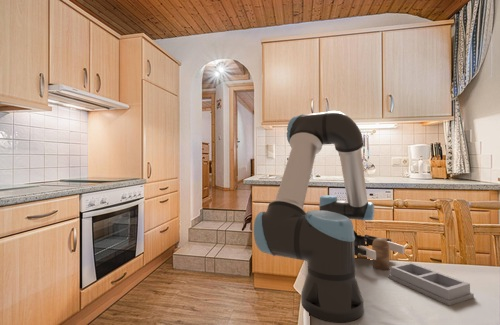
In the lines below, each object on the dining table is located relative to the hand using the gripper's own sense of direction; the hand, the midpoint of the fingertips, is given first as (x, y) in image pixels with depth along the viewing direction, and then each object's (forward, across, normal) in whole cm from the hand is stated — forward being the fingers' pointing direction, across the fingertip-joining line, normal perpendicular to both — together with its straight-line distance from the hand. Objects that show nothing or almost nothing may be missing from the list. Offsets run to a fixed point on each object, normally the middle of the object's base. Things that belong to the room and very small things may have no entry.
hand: (389, 252), depth 86 cm
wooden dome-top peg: (-4, 0, -6) cm, 7 cm away
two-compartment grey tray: (+12, 0, -6) cm, 14 cm away
